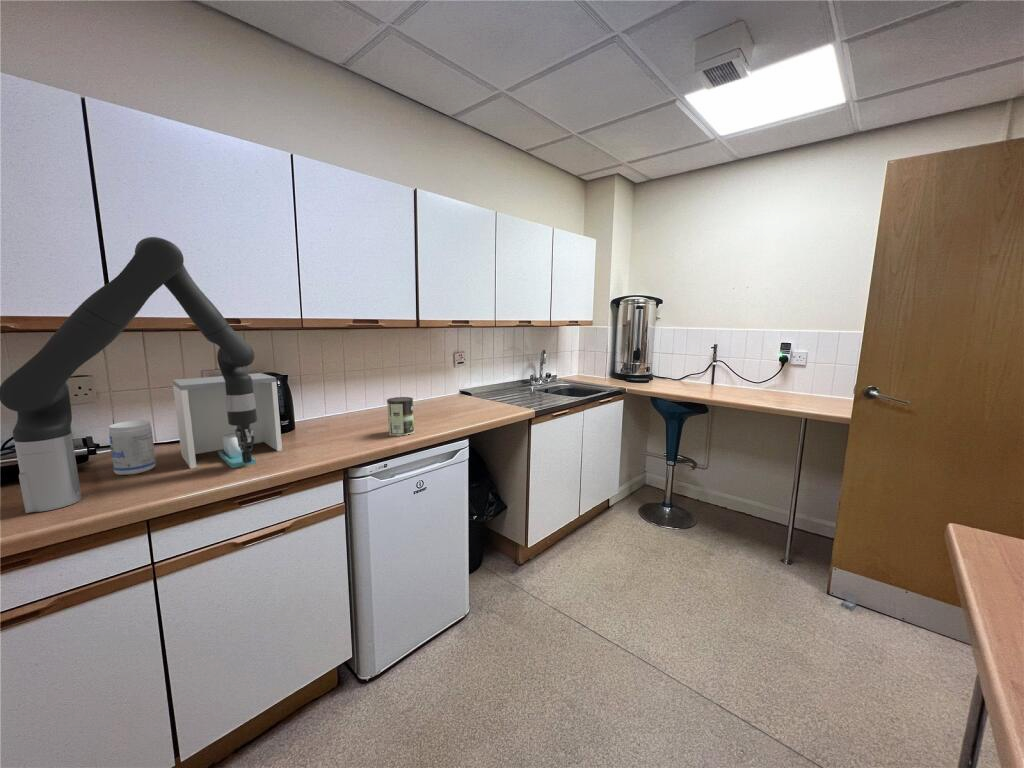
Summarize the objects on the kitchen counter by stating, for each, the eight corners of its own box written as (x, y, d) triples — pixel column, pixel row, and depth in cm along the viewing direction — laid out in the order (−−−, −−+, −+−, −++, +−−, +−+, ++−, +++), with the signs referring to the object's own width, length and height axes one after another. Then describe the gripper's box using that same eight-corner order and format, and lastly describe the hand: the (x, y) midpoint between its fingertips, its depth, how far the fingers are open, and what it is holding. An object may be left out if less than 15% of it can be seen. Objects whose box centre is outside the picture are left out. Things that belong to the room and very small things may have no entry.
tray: (255, 464, 133) (253, 441, 132) (232, 469, 128) (229, 446, 127) (241, 452, 145) (238, 431, 144) (219, 456, 141) (216, 435, 140)
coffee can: (412, 428, 176) (411, 396, 174) (416, 434, 167) (414, 400, 165) (387, 431, 172) (385, 397, 170) (389, 437, 163) (388, 402, 161)
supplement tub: (105, 475, 123) (98, 426, 121) (138, 464, 132) (131, 419, 130) (133, 476, 121) (127, 427, 119) (164, 465, 131) (158, 420, 129)
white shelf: (190, 468, 128) (180, 385, 124) (181, 455, 141) (172, 379, 137) (282, 450, 146) (276, 377, 143) (267, 440, 159) (261, 373, 155)
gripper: (261, 409, 126) (266, 464, 128) (250, 403, 135) (255, 454, 138) (232, 413, 121) (238, 470, 123) (222, 407, 130) (228, 460, 132)
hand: (247, 462), depth 130 cm, fingers closed
